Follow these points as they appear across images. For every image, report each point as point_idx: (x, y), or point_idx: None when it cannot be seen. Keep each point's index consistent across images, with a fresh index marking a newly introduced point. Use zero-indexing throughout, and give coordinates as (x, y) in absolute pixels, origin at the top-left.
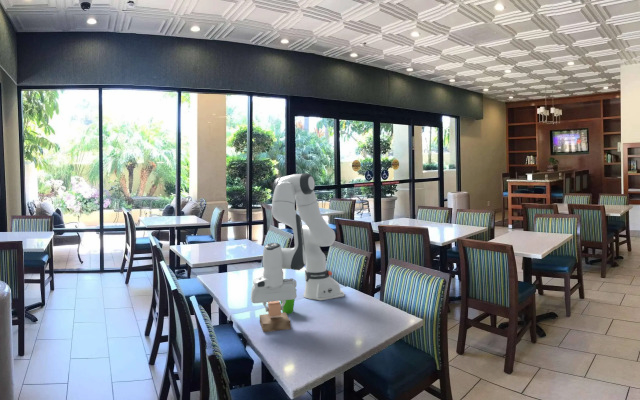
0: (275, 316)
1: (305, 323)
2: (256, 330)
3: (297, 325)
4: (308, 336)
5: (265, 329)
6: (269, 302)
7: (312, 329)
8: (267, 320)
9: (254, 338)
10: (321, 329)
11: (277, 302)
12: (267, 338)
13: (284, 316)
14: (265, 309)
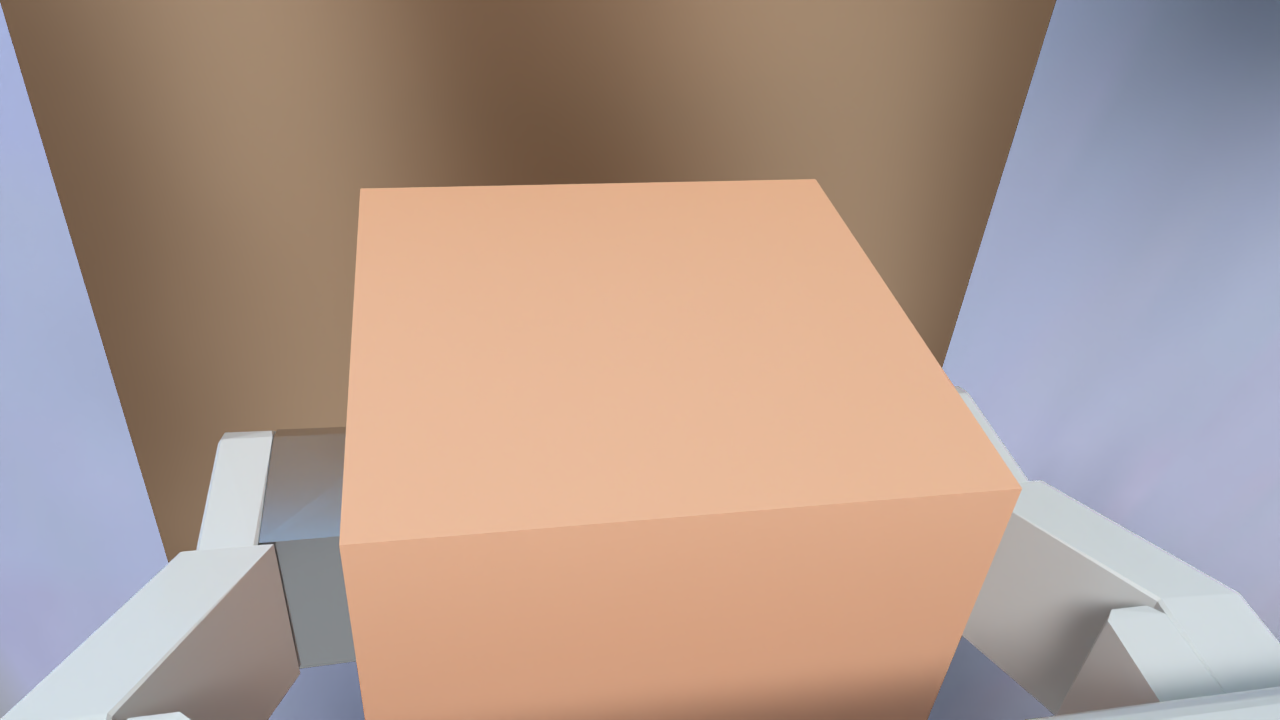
0: (622, 176)
1: (1229, 231)
2: (19, 344)
3: (1028, 292)
4: (941, 695)
5: None
6: (438, 618)
7: (1141, 509)
8: (317, 426)
9: (41, 672)
10: (1252, 531)
11: (853, 661)
12: (306, 693)
13: (886, 249)
14: (217, 475)
